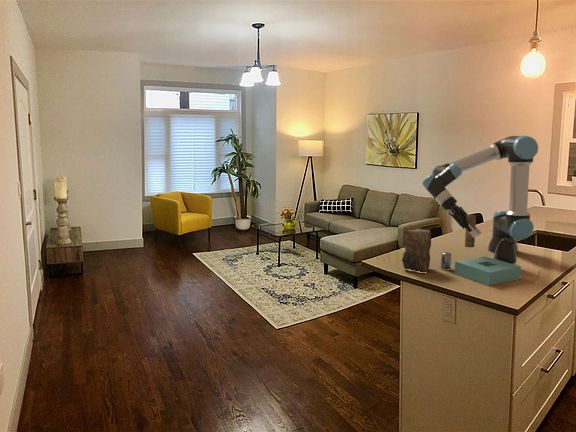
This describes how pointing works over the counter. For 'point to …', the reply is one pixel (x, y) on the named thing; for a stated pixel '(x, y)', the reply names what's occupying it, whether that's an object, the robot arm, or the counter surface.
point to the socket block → (487, 270)
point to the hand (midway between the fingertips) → (477, 235)
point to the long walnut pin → (468, 237)
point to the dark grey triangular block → (505, 251)
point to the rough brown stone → (417, 250)
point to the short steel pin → (446, 260)
